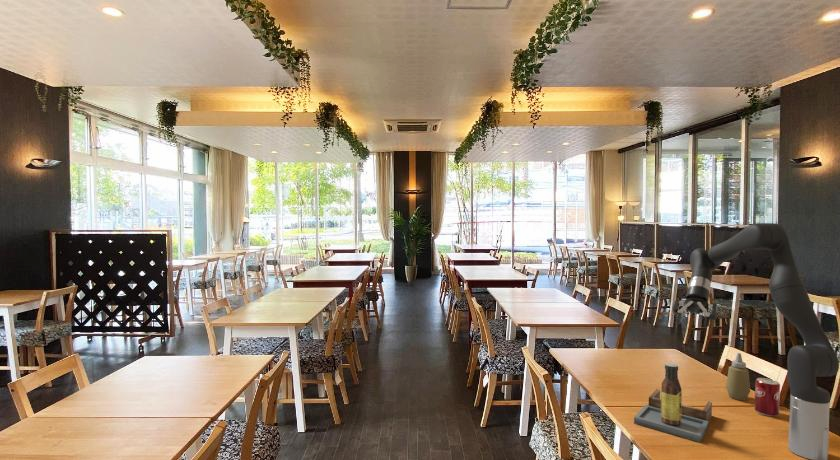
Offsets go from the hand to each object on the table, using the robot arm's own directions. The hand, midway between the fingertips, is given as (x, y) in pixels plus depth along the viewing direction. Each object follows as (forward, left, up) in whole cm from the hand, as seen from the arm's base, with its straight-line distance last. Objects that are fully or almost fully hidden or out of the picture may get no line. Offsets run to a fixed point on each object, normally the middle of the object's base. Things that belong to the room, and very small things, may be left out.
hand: (691, 324), depth 171 cm
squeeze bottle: (-12, -26, -32) cm, 43 cm away
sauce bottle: (+2, +21, -31) cm, 37 cm away
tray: (+2, +20, -32) cm, 38 cm away
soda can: (-22, -16, -32) cm, 42 cm away
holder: (+2, +6, -32) cm, 33 cm away
